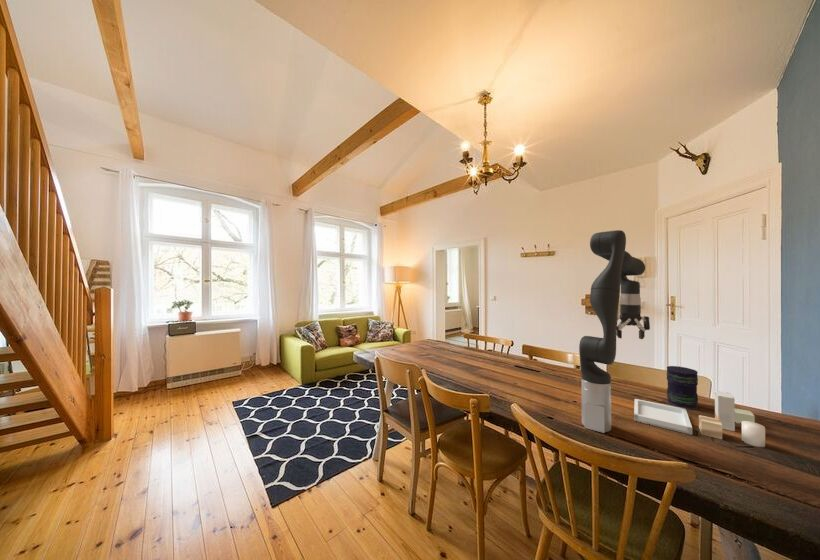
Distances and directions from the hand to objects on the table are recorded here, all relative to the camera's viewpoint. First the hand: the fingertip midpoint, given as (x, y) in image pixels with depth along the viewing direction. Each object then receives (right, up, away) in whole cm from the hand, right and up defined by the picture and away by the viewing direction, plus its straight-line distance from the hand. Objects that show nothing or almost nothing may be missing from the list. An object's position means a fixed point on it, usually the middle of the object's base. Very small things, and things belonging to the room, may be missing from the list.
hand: (630, 338), depth 131 cm
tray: (-4, -27, -20) cm, 34 cm away
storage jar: (+16, -27, -8) cm, 32 cm away
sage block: (+24, -27, -23) cm, 43 cm away
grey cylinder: (+12, -27, -37) cm, 47 cm away
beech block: (+4, -27, -31) cm, 42 cm away
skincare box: (+14, -27, -27) cm, 41 cm away
